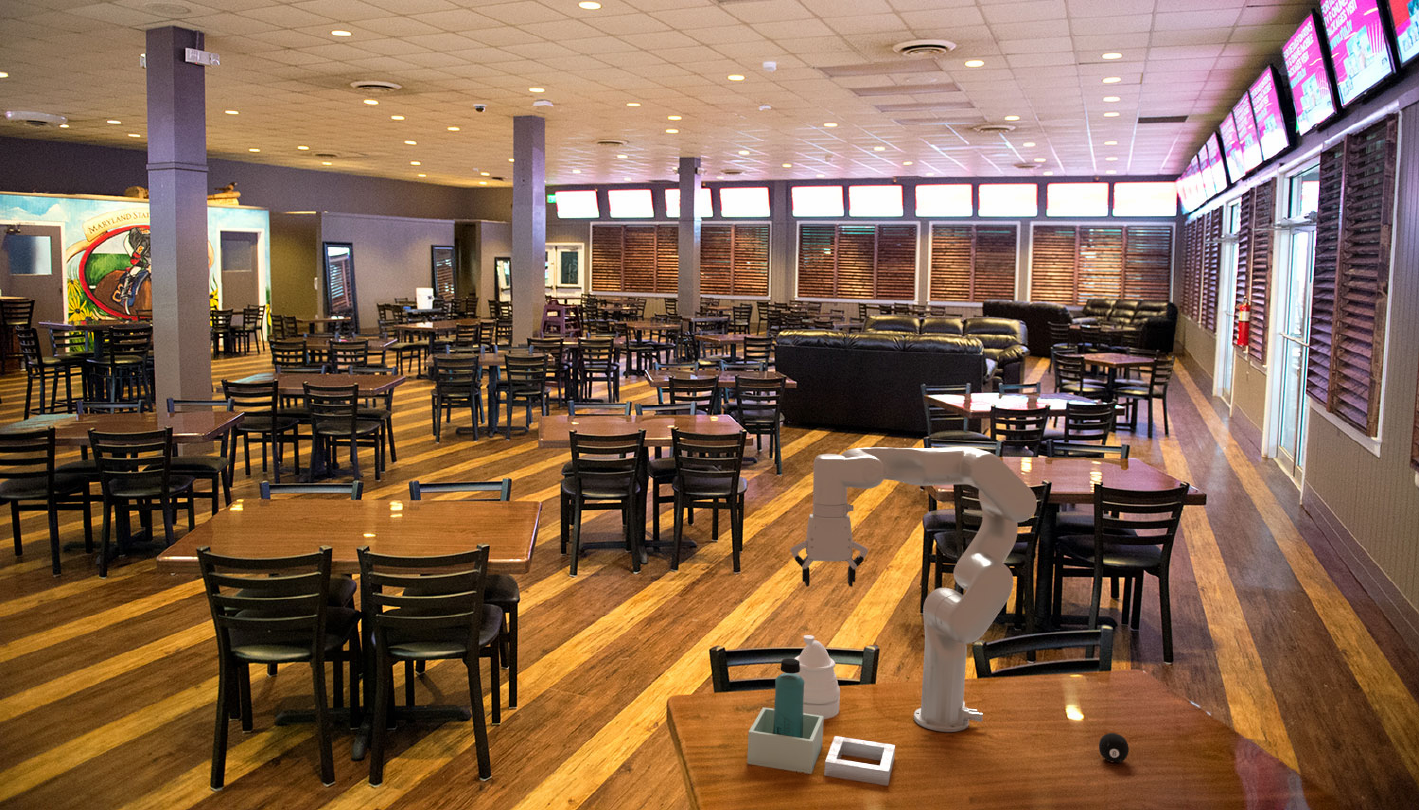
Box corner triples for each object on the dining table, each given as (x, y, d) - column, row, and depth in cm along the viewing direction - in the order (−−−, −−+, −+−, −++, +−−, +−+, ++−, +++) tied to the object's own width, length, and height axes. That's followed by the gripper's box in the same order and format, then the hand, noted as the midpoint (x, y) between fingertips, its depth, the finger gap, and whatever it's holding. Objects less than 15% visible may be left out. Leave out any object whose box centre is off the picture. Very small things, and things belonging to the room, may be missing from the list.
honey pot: (806, 723, 237) (809, 648, 235) (774, 703, 248) (778, 631, 246) (850, 713, 243) (854, 640, 241) (817, 694, 254) (821, 624, 252)
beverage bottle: (808, 750, 220) (812, 660, 218) (789, 760, 215) (793, 668, 213) (784, 740, 225) (788, 652, 222) (765, 750, 220) (769, 660, 217)
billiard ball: (1126, 757, 225) (1128, 731, 224) (1128, 769, 219) (1130, 742, 218) (1097, 753, 227) (1099, 727, 226) (1098, 764, 221) (1100, 737, 220)
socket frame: (894, 758, 220) (895, 745, 220) (887, 785, 208) (888, 771, 207) (834, 749, 224) (834, 736, 223) (824, 775, 211) (825, 761, 211)
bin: (822, 746, 225) (823, 716, 224) (811, 774, 212) (812, 741, 211) (761, 737, 228) (763, 707, 228) (747, 763, 215) (748, 731, 214)
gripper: (866, 506, 231) (864, 580, 233) (789, 506, 231) (788, 580, 233) (871, 514, 224) (869, 590, 226) (792, 513, 224) (791, 589, 226)
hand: (828, 585), depth 230 cm, fingers open, 9 cm apart
